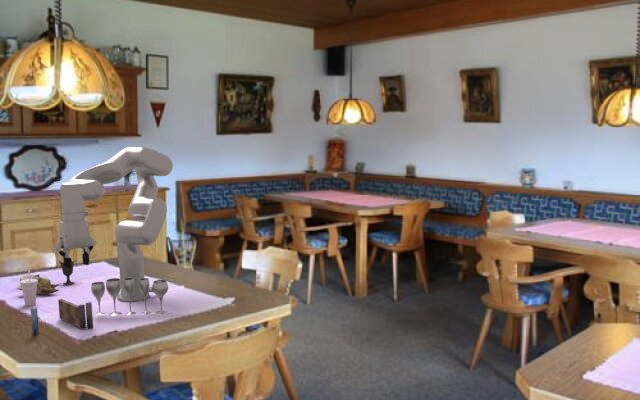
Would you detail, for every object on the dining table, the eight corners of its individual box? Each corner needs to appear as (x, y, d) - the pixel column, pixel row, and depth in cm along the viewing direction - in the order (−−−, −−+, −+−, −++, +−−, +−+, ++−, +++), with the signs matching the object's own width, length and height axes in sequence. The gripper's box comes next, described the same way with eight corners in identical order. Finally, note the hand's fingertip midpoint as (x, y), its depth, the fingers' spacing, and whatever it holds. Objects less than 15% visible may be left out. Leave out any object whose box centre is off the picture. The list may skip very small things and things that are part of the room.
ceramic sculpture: (20, 272, 267) (59, 270, 273) (20, 292, 269) (59, 290, 274) (18, 278, 258) (58, 276, 263) (19, 299, 259) (58, 297, 264)
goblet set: (90, 317, 234) (88, 281, 233) (95, 312, 240) (93, 277, 238) (167, 314, 235) (166, 279, 234) (170, 310, 241) (169, 276, 239)
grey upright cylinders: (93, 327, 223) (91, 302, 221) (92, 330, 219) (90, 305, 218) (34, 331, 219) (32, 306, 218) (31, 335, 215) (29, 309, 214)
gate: (87, 327, 221) (85, 305, 220) (81, 329, 220) (80, 306, 219) (63, 317, 233) (62, 295, 232) (58, 318, 232) (56, 297, 231)
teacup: (26, 291, 272) (25, 280, 271) (12, 288, 277) (11, 277, 276) (47, 285, 280) (46, 275, 279) (33, 283, 285) (32, 272, 285)
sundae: (63, 282, 285) (60, 249, 283) (78, 281, 285) (76, 248, 284) (58, 286, 278) (55, 252, 276) (74, 285, 279) (71, 251, 277)
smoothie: (32, 307, 247) (29, 272, 245) (18, 306, 249) (15, 271, 247) (42, 302, 253) (40, 268, 252) (28, 302, 255) (25, 267, 253)
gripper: (91, 213, 237) (94, 260, 239) (44, 219, 224) (48, 269, 227) (101, 215, 232) (104, 263, 234) (54, 221, 219) (58, 272, 221)
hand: (76, 265), depth 230 cm, fingers open, 6 cm apart
